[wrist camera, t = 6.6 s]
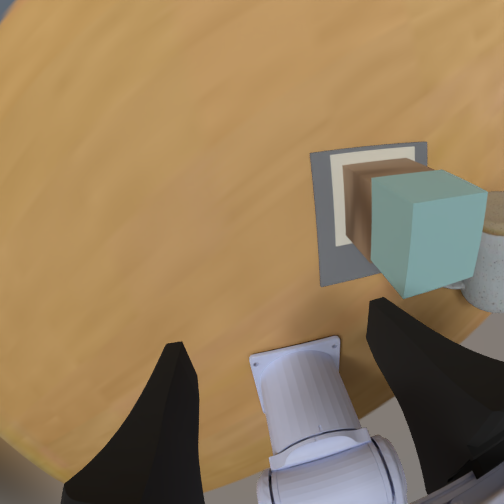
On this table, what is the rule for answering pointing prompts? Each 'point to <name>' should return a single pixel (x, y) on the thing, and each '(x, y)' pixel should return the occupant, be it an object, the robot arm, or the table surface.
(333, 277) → the mat
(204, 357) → the table surface
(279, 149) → the table surface
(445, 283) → the teal block
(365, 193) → the walnut block
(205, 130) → the table surface
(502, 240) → the ceramic mug
